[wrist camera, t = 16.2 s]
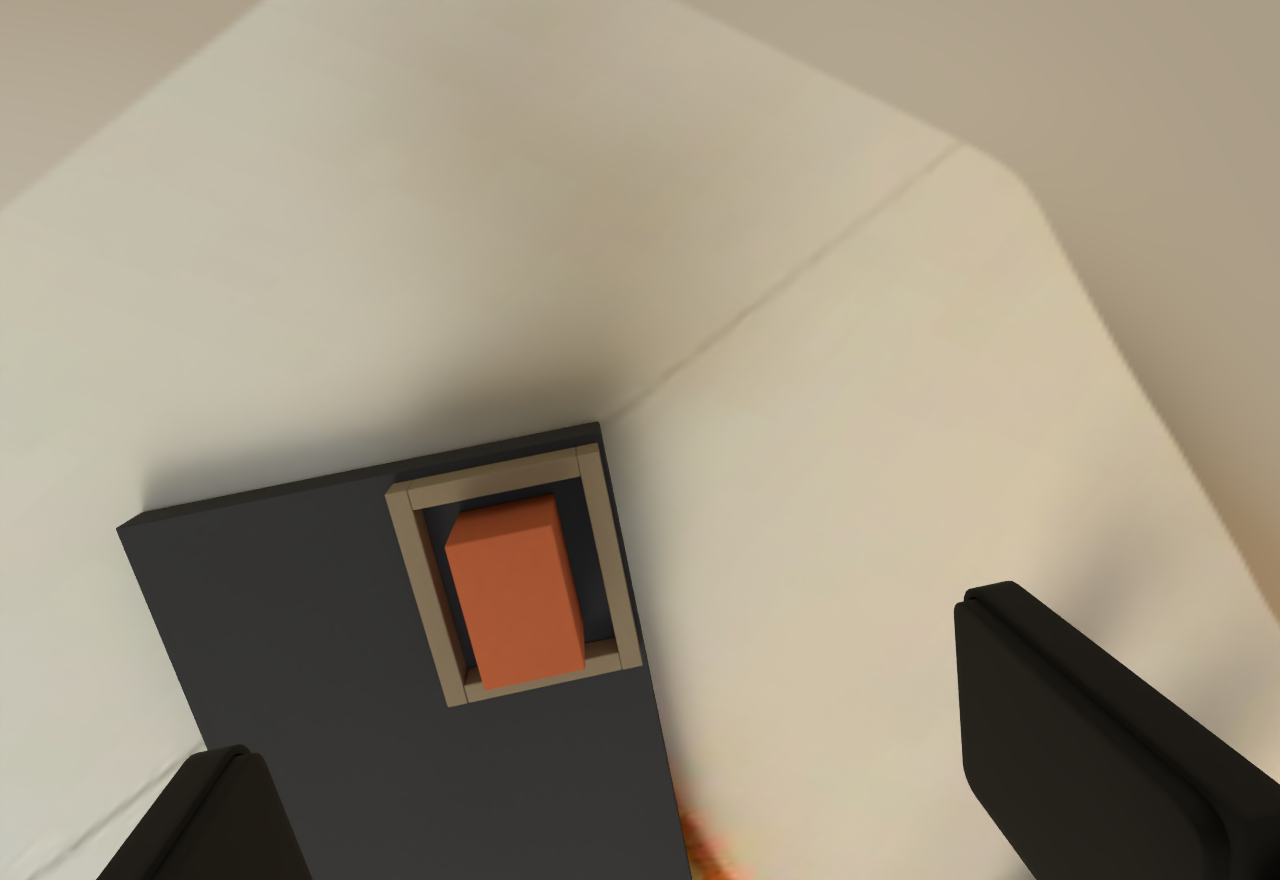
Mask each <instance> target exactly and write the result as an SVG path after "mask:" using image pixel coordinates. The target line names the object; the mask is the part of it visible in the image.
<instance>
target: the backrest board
mask: <svg viewBox="0 0 1280 880" xmlns="http://www.w3.org/2000/svg"><path fill="white" fill-rule="evenodd" d="M547 494H554V495H555V500H556V504H557V508H558V513H559V517H560V521H561V526H562V530H563V535H564V539H565V543H566V548H567V552H568V557H569V561H570V565H571V570H572V574H573V579H574V583H575V587H576V592H577V596H578V600H579V605H580V609H581V614H582V618H583V622H584V644H585V669H584V670H580V671H575V672H570V673H566V674H561V675H557V676H552V677H547V678H543V679H538V680H533V681H529V682H524V683H520V684H515V685H510V686H506V687H501V688H497V689H492V690H487V691H485V690H484V687H483V683H482V679H481V676H480V672H479V669H478V665H477V662H476V658H475V654H474V651H473V647H472V644H471V640H470V637H469V633H468V629H467V626H466V622H465V619H464V615H463V611H462V608H461V604H460V601H459V597H458V594H457V590H456V586H455V583H454V579H453V576H452V572H451V568H450V565H449V561H448V558H447V554H446V551H445V545H446V543H447V540H448V538H449V535H450V533H451V531H452V528H453V526H454V524H455V521H456V519H457V517H458V514H459V513H460V512H464V511H469V510H474V509H479V508H484V507H489V506H494V505H498V504H503V503H508V502H513V501H518V500H523V499H528V498H533V497H538V496H543V495H547ZM116 530H117V533H118V535H119V538H120V540H121V542H122V545H123V547H124V550H125V552H126V554H127V557H128V559H129V562H130V564H131V566H132V569H133V571H134V574H135V576H136V579H137V581H138V583H139V586H140V588H141V591H142V593H143V595H144V598H145V600H146V603H147V605H148V607H149V610H150V612H151V615H152V617H153V619H154V622H155V624H156V627H157V629H158V631H159V634H160V636H161V639H162V641H163V644H164V646H165V648H166V651H167V653H168V656H169V658H170V660H171V663H172V665H173V668H174V670H175V672H176V675H177V677H178V680H179V682H180V684H181V687H182V689H183V692H184V694H185V696H186V699H187V701H188V704H189V706H190V709H191V711H192V713H193V716H194V718H195V721H196V723H197V725H198V728H199V730H200V733H201V735H202V737H203V740H204V742H205V745H206V747H207V749H208V751H209V750H213V749H218V748H223V747H227V746H232V745H237V744H240V745H244V746H246V747H247V748H248V749H249V750H250V752H251V753H259V754H260V755H262V756H263V758H264V760H265V762H266V764H267V767H268V769H269V772H270V774H271V777H272V779H273V782H274V784H275V787H276V789H277V792H278V794H279V797H280V799H281V802H282V804H283V807H284V809H285V812H286V814H287V817H288V819H289V822H290V824H291V827H292V829H293V832H294V834H295V836H296V839H297V841H298V844H299V846H300V849H301V851H302V854H303V856H304V859H305V861H306V864H307V866H308V869H309V871H310V874H311V876H312V879H313V880H692V876H691V871H690V867H689V862H688V857H687V852H686V847H685V842H684V837H683V832H682V827H681V822H680V817H679V812H678V808H677V803H676V798H675V793H674V788H673V783H672V778H671V773H670V768H669V763H668V758H667V753H666V749H665V744H664V739H663V734H662V729H661V724H660V719H659V714H658V709H657V704H656V699H655V694H654V690H653V685H652V680H651V675H650V670H649V665H648V660H647V655H646V650H645V645H644V640H643V635H642V631H641V626H640V621H639V616H638V611H637V606H636V601H635V596H634V591H633V586H632V581H631V576H630V572H629V567H628V562H627V557H626V552H625V547H624V542H623V537H622V532H621V527H620V522H619V517H618V513H617V508H616V503H615V498H614V493H613V488H612V483H611V478H610V473H609V468H608V463H607V458H606V454H605V449H604V444H603V439H602V434H601V429H600V424H599V422H592V423H587V424H582V425H577V426H572V427H567V428H562V429H557V430H552V431H547V432H542V433H537V434H532V435H527V436H522V437H517V438H512V439H507V440H502V441H497V442H492V443H487V444H482V445H477V446H472V447H467V448H462V449H457V450H452V451H447V452H442V453H437V454H432V455H427V456H422V457H417V458H412V459H407V460H402V461H397V462H392V463H387V464H382V465H377V466H372V467H367V468H362V469H357V470H352V471H347V472H342V473H337V474H332V475H327V476H322V477H317V478H312V479H307V480H302V481H297V482H292V483H287V484H282V485H277V486H272V487H267V488H262V489H257V490H252V491H247V492H242V493H237V494H232V495H227V496H222V497H217V498H212V499H207V500H202V501H197V502H192V503H187V504H182V505H177V506H172V507H167V508H162V509H157V510H152V511H147V512H142V513H140V514H139V515H137V516H135V517H134V518H132V519H130V520H129V521H127V522H125V523H124V524H122V525H120V526H119V527H117V528H116Z"/></svg>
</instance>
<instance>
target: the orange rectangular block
mask: <svg viewBox="0 0 1280 880" xmlns="http://www.w3.org/2000/svg"><path fill="white" fill-rule="evenodd" d="M445 551H446V554H447V558H448V561H449V565H450V568H451V572H452V576H453V579H454V583H455V586H456V590H457V594H458V597H459V601H460V604H461V608H462V611H463V615H464V619H465V622H466V626H467V629H468V633H469V637H470V640H471V644H472V647H473V651H474V654H475V658H476V662H477V665H478V669H479V672H480V676H481V679H482V683H483V687H484V690H485V691H487V690H492V689H497V688H501V687H506V686H510V685H515V684H520V683H524V682H529V681H533V680H538V679H543V678H547V677H552V676H557V675H561V674H566V673H570V672H575V671H580V670H584V669H585V644H584V622H583V618H582V614H581V609H580V605H579V600H578V596H577V592H576V587H575V583H574V579H573V574H572V570H571V565H570V561H569V557H568V552H567V548H566V543H565V539H564V535H563V530H562V526H561V521H560V517H559V513H558V508H557V504H556V500H555V495H554V494H547V495H543V496H538V497H533V498H528V499H523V500H518V501H513V502H508V503H503V504H498V505H494V506H489V507H484V508H479V509H474V510H469V511H464V512H460V513H459V514H458V517H457V519H456V521H455V524H454V526H453V528H452V531H451V533H450V535H449V538H448V540H447V543H446V545H445Z"/></svg>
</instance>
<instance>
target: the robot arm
mask: <svg viewBox="0 0 1280 880" xmlns="http://www.w3.org/2000/svg"><path fill="white" fill-rule="evenodd" d="M954 623H955V640H956V657H957V673H958V690H959V707H960V724H961V740H962V757H963V767H964V772H965V775H966V778H967V781H968V783H969V785H970V787H971V790H972V791H973V793H974V794H975V796H976V797H977V799H978V800H979V802H980V803H981V804H982V806H983V807H984V808H985V810H986V811H987V813H988V814H989V815H990V817H991V818H992V819H993V821H994V822H995V824H996V825H997V826H998V828H999V829H1000V830H1001V832H1002V833H1003V835H1004V836H1005V837H1006V839H1007V840H1008V841H1009V843H1010V844H1011V845H1012V847H1013V848H1014V850H1015V851H1016V852H1017V854H1018V855H1019V856H1020V858H1021V859H1022V861H1023V862H1024V863H1025V865H1026V866H1027V867H1028V869H1029V870H1030V872H1031V873H1032V874H1033V876H1034V877H1035V878H1036V880H1280V784H1278V783H1277V782H1276V781H1274V780H1273V779H1272V778H1271V777H1269V776H1268V775H1267V774H1265V773H1264V772H1263V771H1261V770H1260V769H1259V768H1257V767H1256V766H1255V765H1254V764H1252V763H1251V762H1250V761H1248V760H1247V759H1246V758H1244V757H1243V756H1242V755H1240V754H1239V753H1238V752H1237V751H1235V750H1234V749H1233V748H1231V747H1230V746H1229V745H1227V744H1226V743H1225V742H1223V741H1222V740H1221V739H1220V738H1218V737H1217V736H1216V735H1214V734H1213V733H1212V732H1210V731H1209V730H1208V729H1206V728H1205V727H1204V726H1203V725H1201V724H1200V723H1199V722H1197V721H1196V720H1195V719H1193V718H1192V717H1191V716H1189V715H1188V714H1187V713H1186V712H1184V711H1183V710H1182V709H1180V708H1179V707H1178V706H1176V705H1175V704H1174V703H1173V702H1171V701H1170V700H1169V699H1167V698H1166V697H1165V696H1163V695H1162V694H1161V693H1159V692H1158V691H1157V690H1156V689H1154V688H1153V687H1152V686H1150V685H1149V684H1148V683H1146V682H1145V681H1144V680H1142V679H1141V678H1140V677H1139V676H1137V675H1136V674H1135V673H1133V672H1132V671H1131V670H1129V669H1128V668H1127V667H1125V666H1124V665H1123V664H1122V663H1120V662H1119V661H1118V660H1116V659H1115V658H1114V657H1112V656H1111V655H1110V654H1108V653H1107V652H1106V651H1105V650H1103V649H1102V648H1101V647H1099V646H1098V645H1097V644H1095V643H1094V642H1093V641H1091V640H1090V639H1089V638H1088V637H1086V636H1085V635H1084V634H1082V633H1081V632H1080V631H1078V630H1077V629H1076V628H1074V627H1073V626H1072V625H1071V624H1069V623H1068V622H1067V621H1065V620H1064V619H1063V618H1061V617H1060V616H1059V615H1057V614H1056V613H1055V612H1054V611H1052V610H1051V609H1050V608H1048V607H1047V606H1046V605H1044V604H1043V603H1042V602H1041V601H1039V600H1038V599H1037V598H1035V597H1034V596H1033V595H1031V594H1030V593H1029V592H1027V591H1026V590H1025V589H1024V588H1022V587H1021V586H1020V585H1018V584H1017V583H1015V582H1013V581H1005V582H1000V583H995V584H990V585H986V586H981V587H976V588H972V589H969V590H967V591H966V593H965V596H964V602H959V603H957V604H956V605H955V608H954ZM96 880H313V879H312V876H311V874H310V871H309V869H308V866H307V864H306V861H305V859H304V856H303V854H302V851H301V849H300V846H299V844H298V841H297V839H296V836H295V834H294V832H293V829H292V827H291V824H290V822H289V819H288V817H287V814H286V812H285V809H284V807H283V804H282V802H281V799H280V797H279V794H278V792H277V789H276V787H275V784H274V782H273V779H272V777H271V774H270V772H269V769H268V767H267V764H266V762H265V760H264V758H263V756H262V755H260V754H259V753H251V752H250V750H249V749H248V748H247V747H246V746H244V745H240V744H237V745H232V746H227V747H223V748H218V749H213V750H209V751H204V752H199V753H196V754H193V755H191V756H190V757H189V758H188V759H187V760H186V761H185V762H184V763H183V765H182V766H181V767H180V769H179V770H178V771H177V773H176V774H175V775H174V777H173V778H172V779H171V781H170V782H169V783H168V785H167V786H166V787H165V789H164V790H163V791H162V793H161V794H160V795H159V797H158V798H157V799H156V801H155V802H154V803H153V805H152V806H151V807H150V809H149V810H148V811H147V813H146V814H145V815H144V817H143V818H142V819H141V821H140V822H139V823H138V825H137V826H136V827H135V829H134V830H133V831H132V833H131V834H130V835H129V837H128V838H127V839H126V841H125V842H124V843H123V845H122V846H121V847H120V849H119V850H118V851H117V853H116V854H115V855H114V857H113V858H112V859H111V861H110V862H109V863H108V865H107V866H106V867H105V869H104V870H103V871H102V873H101V874H100V875H99V877H98V878H97V879H96Z"/></svg>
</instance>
